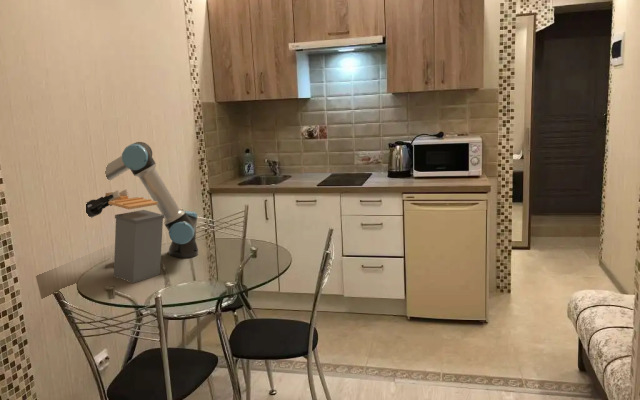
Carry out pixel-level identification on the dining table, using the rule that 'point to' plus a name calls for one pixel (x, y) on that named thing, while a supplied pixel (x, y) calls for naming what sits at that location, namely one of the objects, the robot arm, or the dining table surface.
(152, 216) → the tall grey box
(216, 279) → the dining table surface
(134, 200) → the lid
